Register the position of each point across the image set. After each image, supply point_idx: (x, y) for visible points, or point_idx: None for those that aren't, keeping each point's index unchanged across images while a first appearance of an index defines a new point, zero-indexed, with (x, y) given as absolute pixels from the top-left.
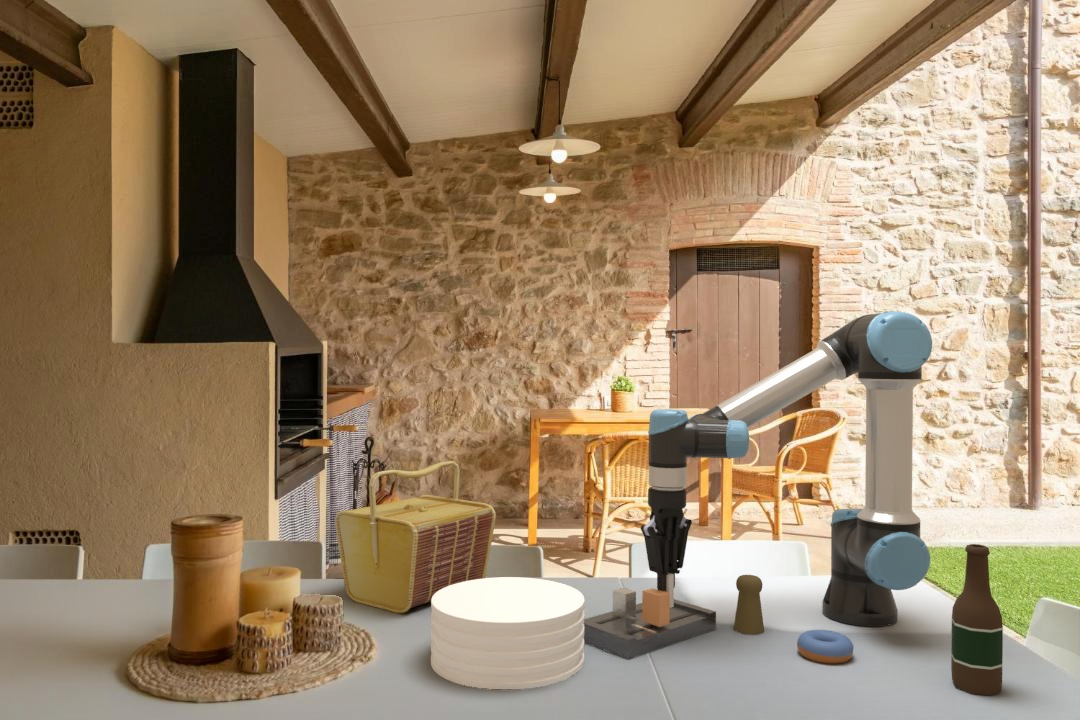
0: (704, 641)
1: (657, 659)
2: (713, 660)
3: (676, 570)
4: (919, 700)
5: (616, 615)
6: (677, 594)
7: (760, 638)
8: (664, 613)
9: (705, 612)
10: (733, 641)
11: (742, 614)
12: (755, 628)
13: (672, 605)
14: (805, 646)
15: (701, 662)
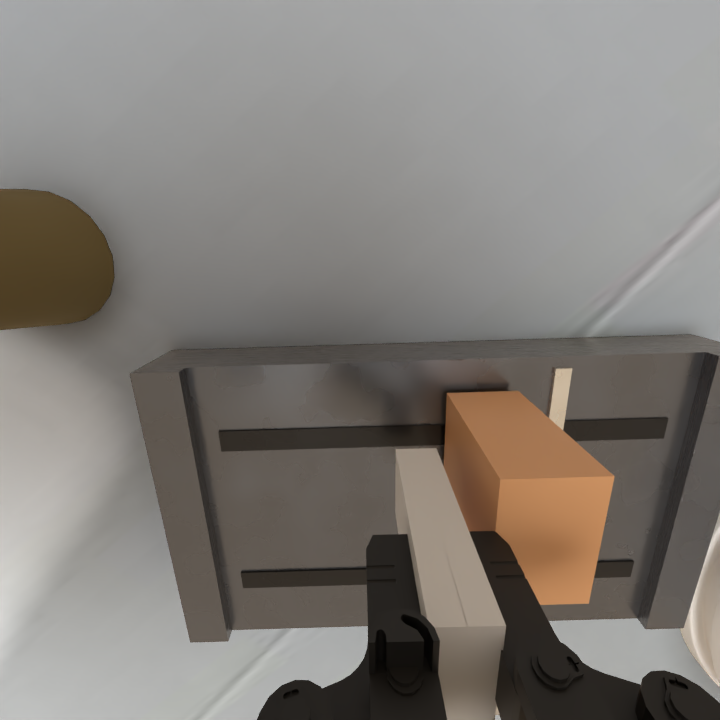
0: (318, 285)
1: (619, 267)
2: (469, 103)
3: (407, 657)
4: None
5: None
6: (33, 656)
7: (79, 150)
8: (505, 415)
9: (183, 397)
10: (216, 206)
11: (34, 255)
12: (41, 197)
13: (404, 453)
14: None
15: (527, 122)
